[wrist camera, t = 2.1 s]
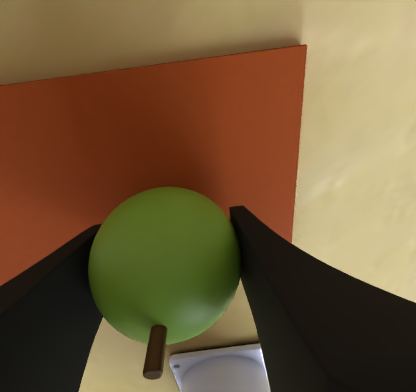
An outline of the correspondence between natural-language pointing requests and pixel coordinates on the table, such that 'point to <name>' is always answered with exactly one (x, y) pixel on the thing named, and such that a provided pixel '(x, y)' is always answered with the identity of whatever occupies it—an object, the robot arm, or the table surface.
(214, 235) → the apple
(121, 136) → the cloth
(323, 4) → the table surface
